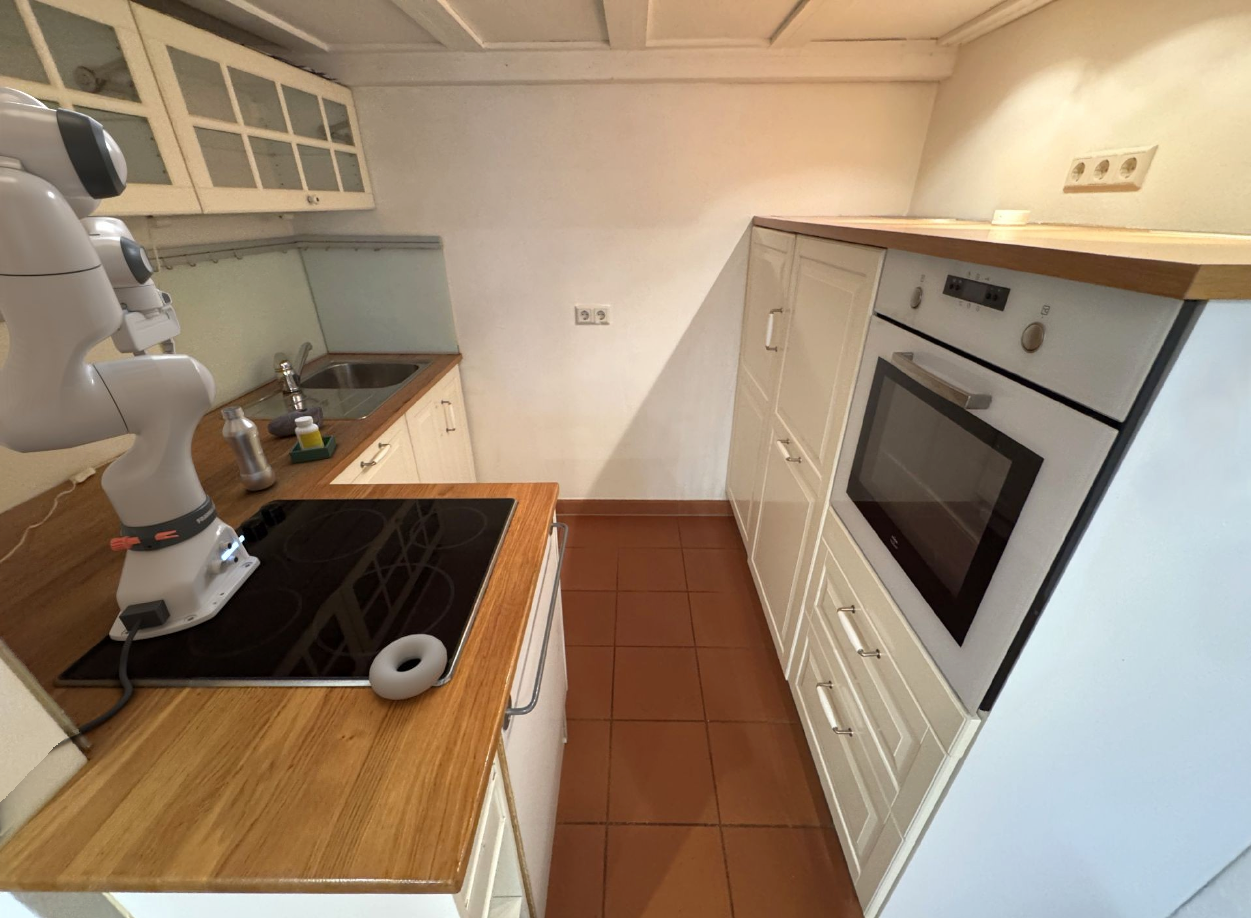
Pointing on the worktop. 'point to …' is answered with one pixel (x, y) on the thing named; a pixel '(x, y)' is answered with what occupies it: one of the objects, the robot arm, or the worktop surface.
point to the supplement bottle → (308, 433)
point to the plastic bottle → (247, 449)
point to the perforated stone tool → (287, 424)
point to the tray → (313, 451)
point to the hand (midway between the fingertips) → (162, 363)
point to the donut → (414, 680)
